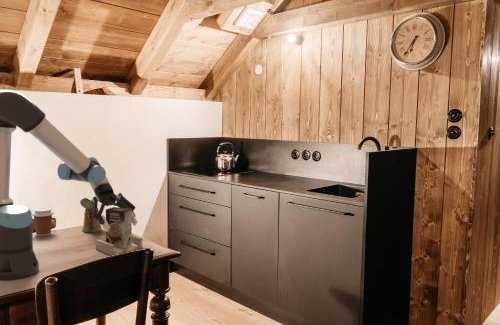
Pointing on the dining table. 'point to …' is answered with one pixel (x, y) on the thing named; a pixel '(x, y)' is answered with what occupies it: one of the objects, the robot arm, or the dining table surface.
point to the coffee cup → (43, 221)
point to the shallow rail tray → (112, 250)
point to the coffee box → (119, 227)
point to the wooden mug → (89, 217)
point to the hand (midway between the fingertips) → (122, 227)
